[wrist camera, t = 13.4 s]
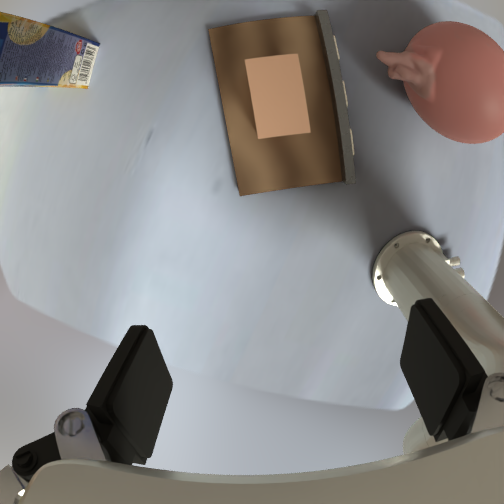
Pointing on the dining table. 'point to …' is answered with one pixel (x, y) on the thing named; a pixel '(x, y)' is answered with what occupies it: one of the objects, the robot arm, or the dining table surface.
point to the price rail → (337, 96)
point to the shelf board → (242, 115)
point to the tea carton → (277, 95)
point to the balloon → (453, 80)
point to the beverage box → (43, 55)
